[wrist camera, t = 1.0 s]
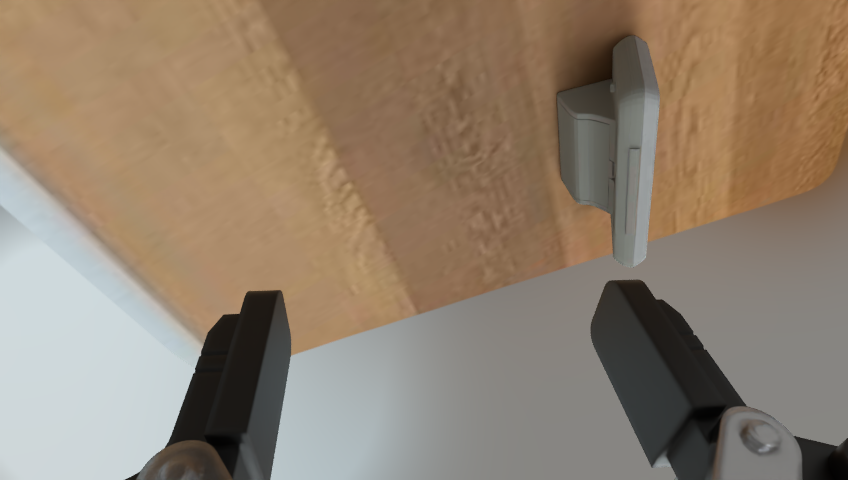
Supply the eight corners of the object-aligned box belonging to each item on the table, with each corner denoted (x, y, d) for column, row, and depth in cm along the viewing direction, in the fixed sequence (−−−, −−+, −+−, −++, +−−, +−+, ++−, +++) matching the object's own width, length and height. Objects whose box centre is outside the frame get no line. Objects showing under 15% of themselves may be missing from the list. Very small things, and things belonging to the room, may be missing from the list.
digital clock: (626, 199, 48) (681, 268, 39) (539, 205, 47) (575, 277, 39) (674, 28, 38) (762, 72, 29) (564, 34, 37) (621, 80, 29)
